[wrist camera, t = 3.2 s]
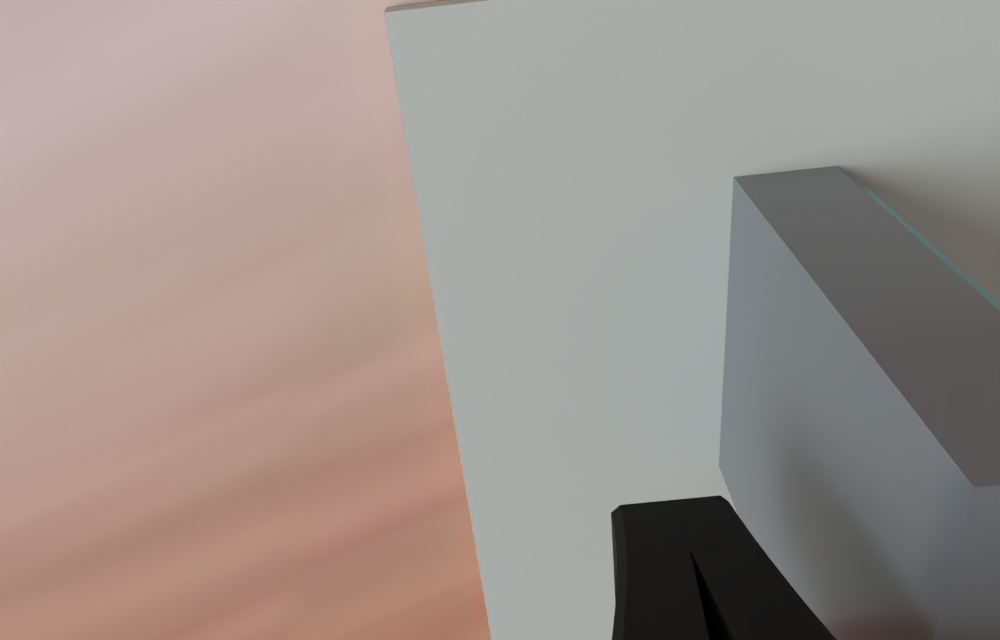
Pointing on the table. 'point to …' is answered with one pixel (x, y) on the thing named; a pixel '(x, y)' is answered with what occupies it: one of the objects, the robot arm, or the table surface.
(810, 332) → the glazed tile
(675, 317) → the felt mat
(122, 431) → the table surface
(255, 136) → the table surface
